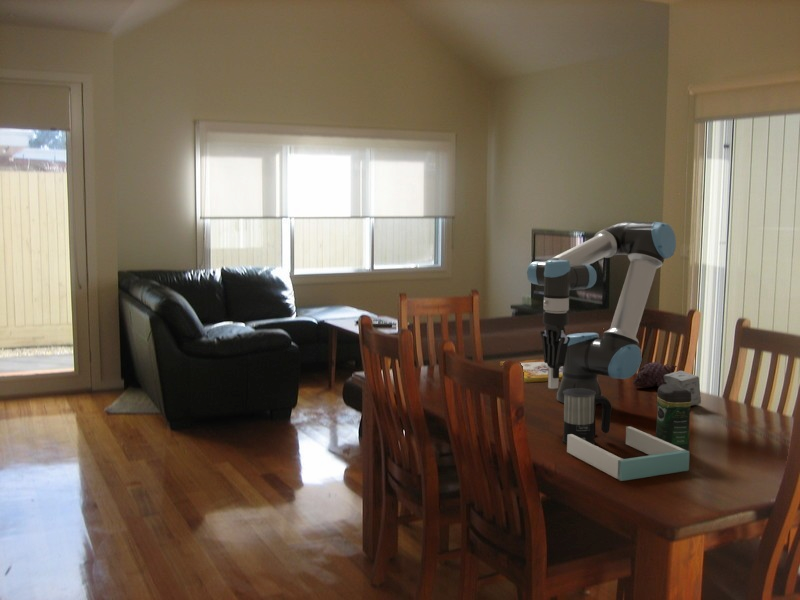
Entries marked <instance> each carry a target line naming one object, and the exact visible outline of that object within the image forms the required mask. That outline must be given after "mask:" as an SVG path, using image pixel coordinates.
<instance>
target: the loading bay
mask: <svg viewBox="0 0 800 600" xmlns="http://www.w3.org/2000/svg"><path fill="white" fill-rule="evenodd" d="M625 445H627V446H629V447H632V448H634V449H635V450H637V451H640V452H642V453H644V454H647V455H642V456H637V457H636V456H635V457H629V458H622V457H620V456H619V455H618V456H617V455H615V454H614V453H611V452H610V451H607V450H605V449H603V448H601V447H599V446H597V445H595V444H591V443H589V442H587V441H585V440H583V439H581V438H579V437H577V436H575V435H573V434H568V435H567V444H566V453H568V454H570V455H571V456H574V457H575V458H577V459H579V460H581V461H583V462H584V463H586V464H588V465H591V466H592V467H594V468H596V469H598V470H599V471H601V472H604V473H605V474H607V475H609V476H611V477H612V478H615V479H617V480H618V481H620V482H622V481H623V482H624V481H631V480H636V479H643V478H648V477H649V478H650V477H656V476H661V475H668V474H674V473H680V472H688V471H689V469H690V450H689V451H687V450H685V449H682V448H680V447H678V446H675V445H673V444H671V443H668V442H666V441H664V440H661V439H659V438H657V437H656V436H654V435H652V434H650V433H648V432H644V431H642V430H640V429H637V428H635V427H633V426H625Z"/></svg>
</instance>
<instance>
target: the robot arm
mask: <svg viewBox="0 0 800 600" xmlns="http://www.w3.org/2000/svg"><path fill="white" fill-rule="evenodd" d="M676 247H677V237H676V234H675V231H674V228H673V227H672V226H671V224H669V223H665V222H658V221H637V220H636V221H635V220H628V221H627V220H626V221H622V222H618V223H616V224H612V225H611V226H610V225H609V226H607V227H605V228H603V229H601V230H599V231H597V232H596V233H595V234H594V236H593V237H591V238H590V239H588V240H586V241H583V242H581V243H580V244H577V245H576V246H574V247H572V248H570V249H568V250H565V251H563V252H561V253H559V254H558V255H556V256H555V255H554V257H551V258H549V259H548V260H545V261H541V260H537V261H532V262H531V263H530V264H529V265H528V267H527V269H526V275H527V280H528V281H529V282H530V283H531V284H533V285H537V286H540V287H541V286H543V301H542V302H543V307H542V308H543V313H542V323H543V325H545V329H544V330H541V331H540V336H541V343H542V351H543V360H544V362H545V363H547V365H548V366H549V367H548V381H547V382H548V384H547V388H548V389H550V390H554V389H558V390H557V392H556V400H557V402H560V403H562V404H564V394H563V391H564V390H566V389H572V388H583V389H590V390H593V391H595V392H596V394H595V395H602V396H603V393H602V391H601V390H602V389H601V386H600V383H599V381H598V375H599V376H604V377H609V378H611V379H619V380H628V379H630V378H631V377H633V376H634V375H636V374H637V372H639V371H638V370H640V366H641V363H642V360H643V357H642V353H643V352H642V349H641V348H640V346H639V344H640V342H639V339H638V338H637V334H638V331H639V327H640V323H641V321H642V317H643V314H644V310H645V308H646V304H647V302H648V298H649V294H650V291H651V288H652V285H653V282H654V278H655V274H656V273H657V269H659V268H661V267H663V264H664V261H665V259H667V260H668V259H670V258H671V257H672V256H674V254H675V252H676ZM619 255H621V256H622V255H623V256H624V255H625V256H627V258H628V260H629V262H630V263H629V266H628V270H627V273H626V276H625V279H624V283H623V286H622V289H621V292H620V296H619V298H618V302H617V305H616V308H615V311H614V314H613V318H612V321H611V325H610V328H609V329H608V330H605V331H604V332H603V334H602V336H601V339H600V336H599V333H597V332H581V333H580V332H578V333H569V334H567V335H566V329H565V327H566V326H567V325H568V324H569V313H568V312H569V310H570V291H575V290H582V291H584V290H586V289H590V288H592V287H594V285H595V284H596V282H597V278H598V277H597V276H598V275H597V271H596V269H595V267H593V266H592V265H593V264H594V263H595V262H597V261H599V260H601V259H603V258H605V259H606V258H607V259H609V258H611V257H614V256H619ZM591 264H592V265H591ZM562 366H563V377H562V380H561V381H559V368H560V367H562ZM599 404H600V403H596V405H599Z"/></svg>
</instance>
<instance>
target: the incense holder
mask: <svg viewBox="0 0 800 600" xmlns="http://www.w3.org/2000/svg"><path fill="white" fill-rule="evenodd" d="M664 381H665V382H666V383H667V384H676V385H677V386H680V387H682V388H684V389H686V390H688V391H690V392H691V406H696V405H700V404H701V403H702V399H701V387H700V386H701V385H700V384H701V383H700V377H699V375H695V374H692V373H689V372H686V371H684V370H678V371H674V372H673V373H670V374H667V375H664Z"/></svg>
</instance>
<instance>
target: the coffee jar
mask: <svg viewBox="0 0 800 600" xmlns="http://www.w3.org/2000/svg"><path fill="white" fill-rule="evenodd" d="M656 400H657V411H656V412H657V416H656V428H655V429H656V430H655V437H657V438H659V439H661V440H664V441H666V442H668V443H671V444H673V445H675V446H678V447H680V448H682V449H685V450H687V451H689V452H690V417H691V416H690V415H691V413H690V412H691V392H690V391H688V390H686V389H684V388H682V387H680V386H677V385H676V384H662V385H661V386H660V387H658V388H657V396H656Z"/></svg>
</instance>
